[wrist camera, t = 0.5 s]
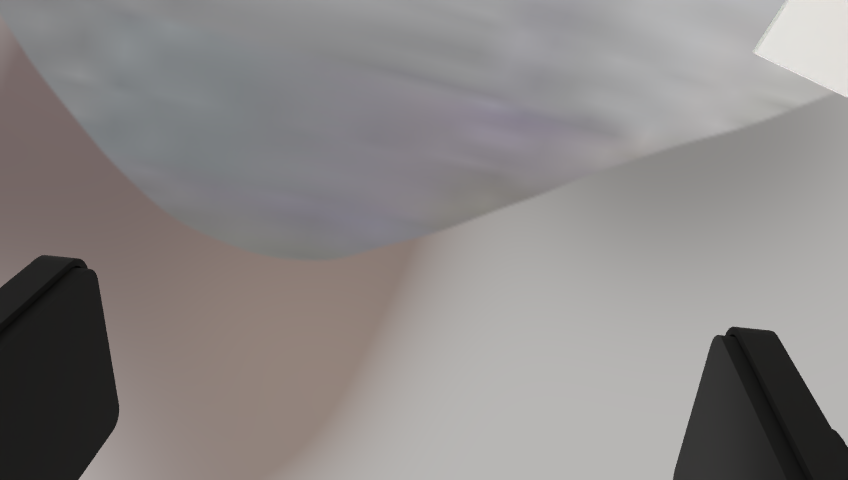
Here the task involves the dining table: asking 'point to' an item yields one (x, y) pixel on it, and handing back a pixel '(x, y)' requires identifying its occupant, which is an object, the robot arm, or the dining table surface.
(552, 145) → the dining table surface
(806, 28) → the runner mat
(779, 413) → the robot arm
